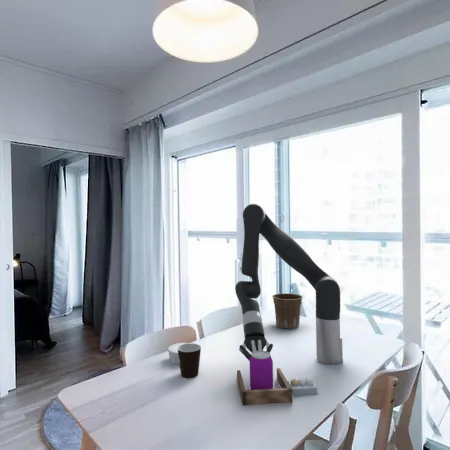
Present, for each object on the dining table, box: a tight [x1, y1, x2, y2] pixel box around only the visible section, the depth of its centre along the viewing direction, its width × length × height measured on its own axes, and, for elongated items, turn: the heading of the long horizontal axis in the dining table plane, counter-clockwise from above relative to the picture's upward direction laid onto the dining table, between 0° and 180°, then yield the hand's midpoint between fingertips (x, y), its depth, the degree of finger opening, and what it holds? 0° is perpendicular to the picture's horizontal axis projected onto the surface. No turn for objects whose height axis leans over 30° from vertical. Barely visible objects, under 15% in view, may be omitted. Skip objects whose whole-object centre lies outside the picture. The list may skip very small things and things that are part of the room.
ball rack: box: [286, 377, 318, 396], centre depth 107 cm, size 8×6×4 cm
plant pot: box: [271, 292, 304, 330], centre depth 176 cm, size 16×16×16 cm
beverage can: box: [249, 350, 274, 390], centre depth 108 cm, size 8×8×12 cm
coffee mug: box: [178, 342, 202, 380], centre depth 121 cm, size 12×9×10 cm
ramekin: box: [167, 342, 188, 366], centre depth 133 cm, size 11×11×5 cm
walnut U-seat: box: [236, 367, 293, 406], centre depth 107 cm, size 15×15×4 cm
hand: (259, 371), depth 112 cm, fingers closed
